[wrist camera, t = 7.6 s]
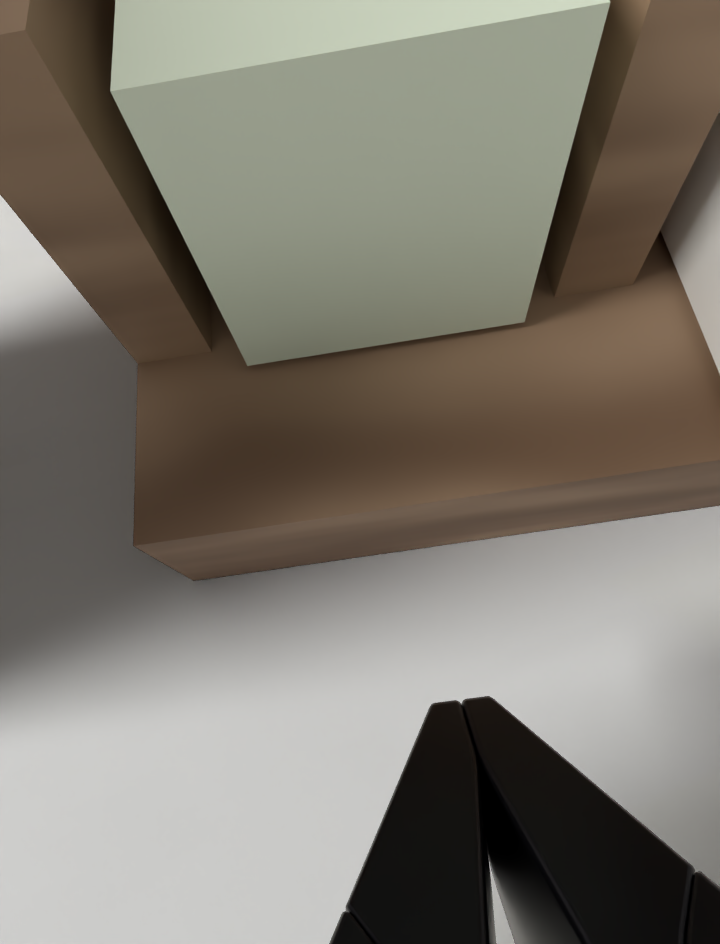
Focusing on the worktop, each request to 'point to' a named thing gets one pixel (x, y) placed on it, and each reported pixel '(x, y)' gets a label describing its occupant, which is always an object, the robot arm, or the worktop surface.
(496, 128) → the light green block
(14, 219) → the worktop surface
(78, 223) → the wooden desk organizer
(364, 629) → the worktop surface
